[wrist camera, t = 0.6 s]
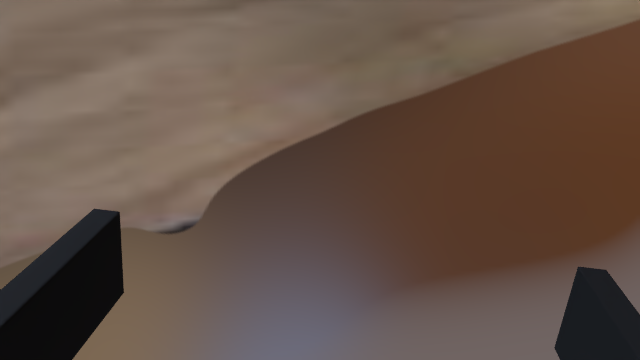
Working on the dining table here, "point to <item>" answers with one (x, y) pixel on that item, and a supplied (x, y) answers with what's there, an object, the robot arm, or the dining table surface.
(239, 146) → the dining table surface
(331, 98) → the dining table surface
